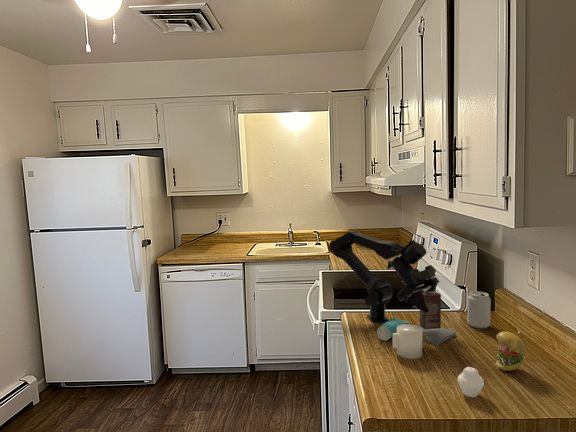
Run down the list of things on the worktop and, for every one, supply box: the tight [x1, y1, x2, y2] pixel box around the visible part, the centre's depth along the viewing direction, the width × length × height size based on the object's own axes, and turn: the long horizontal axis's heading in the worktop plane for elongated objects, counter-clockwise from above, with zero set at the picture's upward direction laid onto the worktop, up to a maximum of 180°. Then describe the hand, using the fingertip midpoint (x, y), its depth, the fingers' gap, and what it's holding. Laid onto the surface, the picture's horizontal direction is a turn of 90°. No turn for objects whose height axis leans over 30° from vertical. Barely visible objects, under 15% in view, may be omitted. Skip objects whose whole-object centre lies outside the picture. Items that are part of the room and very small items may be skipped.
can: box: [466, 290, 492, 330], centre depth 149 cm, size 8×8×12 cm
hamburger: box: [495, 328, 526, 372], centre depth 116 cm, size 8×7×12 cm
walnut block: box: [422, 333, 428, 349], centre depth 133 cm, size 4×4×4 cm
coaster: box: [417, 324, 457, 346], centre depth 142 cm, size 12×12×1 cm
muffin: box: [457, 366, 485, 398], centre depth 104 cm, size 6×6×7 cm
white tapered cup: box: [392, 323, 423, 360], centre depth 127 cm, size 9×8×8 cm
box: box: [419, 290, 442, 329], centre depth 141 cm, size 6×4×12 cm
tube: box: [376, 317, 411, 342], centre depth 145 cm, size 7×5×19 cm
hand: (433, 309), depth 140 cm, fingers closed on box, 7 cm apart
